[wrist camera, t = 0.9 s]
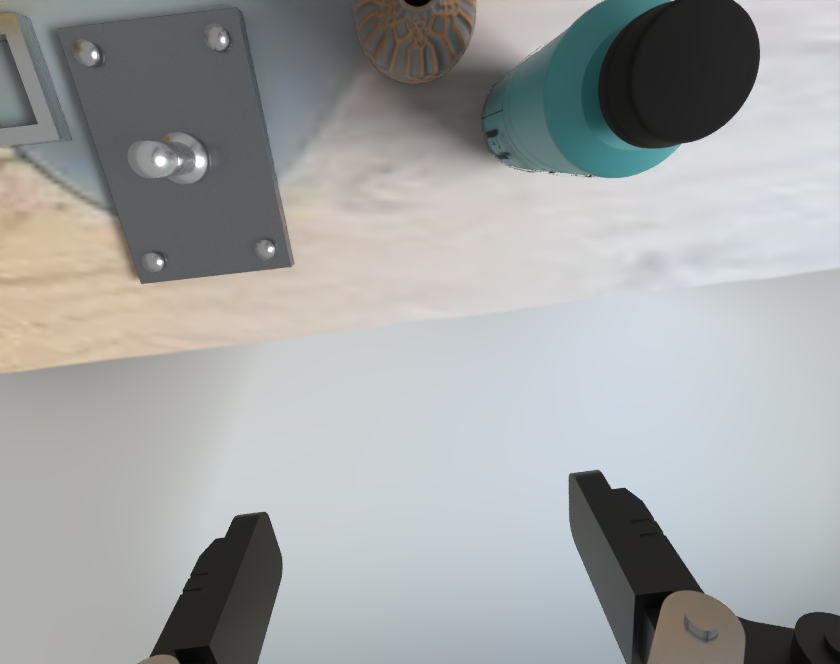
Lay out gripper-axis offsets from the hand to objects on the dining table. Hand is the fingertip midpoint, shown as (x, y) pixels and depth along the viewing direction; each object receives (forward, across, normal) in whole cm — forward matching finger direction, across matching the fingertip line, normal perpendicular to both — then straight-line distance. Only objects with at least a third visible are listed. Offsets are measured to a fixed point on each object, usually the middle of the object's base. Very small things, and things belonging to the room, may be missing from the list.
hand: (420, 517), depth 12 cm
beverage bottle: (+25, -9, -10) cm, 29 cm away
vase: (+25, -2, -16) cm, 30 cm away
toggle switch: (+25, +14, -10) cm, 30 cm away
